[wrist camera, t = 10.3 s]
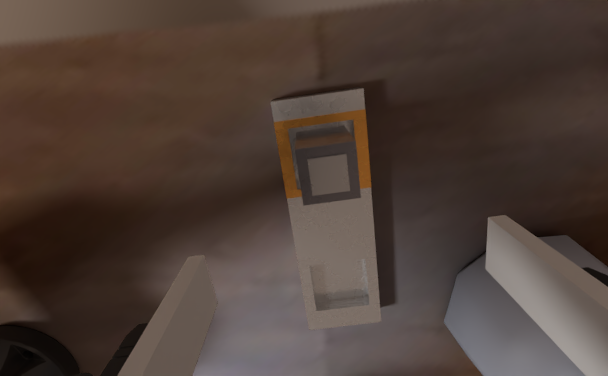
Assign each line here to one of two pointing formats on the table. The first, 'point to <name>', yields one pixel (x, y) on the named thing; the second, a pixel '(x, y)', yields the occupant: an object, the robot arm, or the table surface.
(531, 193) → the table surface
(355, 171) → the grey tall square block
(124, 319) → the table surface
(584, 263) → the bottle
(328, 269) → the rail
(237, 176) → the table surface
